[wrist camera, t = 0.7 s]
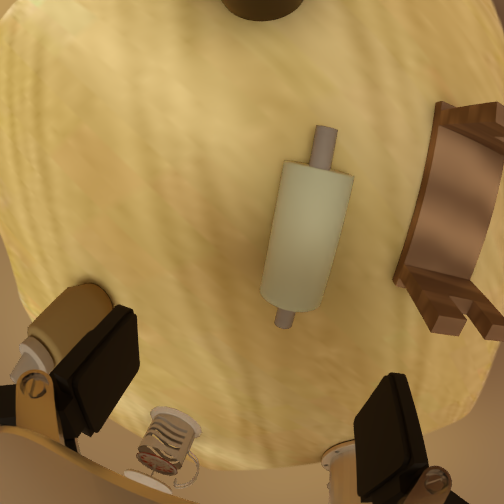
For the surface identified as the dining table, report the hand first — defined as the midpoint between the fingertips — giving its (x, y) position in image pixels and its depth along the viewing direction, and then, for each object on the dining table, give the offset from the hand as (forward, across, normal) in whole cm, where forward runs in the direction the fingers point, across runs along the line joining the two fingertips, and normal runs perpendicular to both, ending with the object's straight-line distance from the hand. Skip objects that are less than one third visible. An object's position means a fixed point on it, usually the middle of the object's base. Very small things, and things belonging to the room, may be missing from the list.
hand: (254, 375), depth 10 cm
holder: (+20, -17, -6) cm, 27 cm away
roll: (+17, -2, 0) cm, 17 cm away
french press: (+20, +9, +40) cm, 45 cm away
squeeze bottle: (+20, +23, +17) cm, 35 cm away
